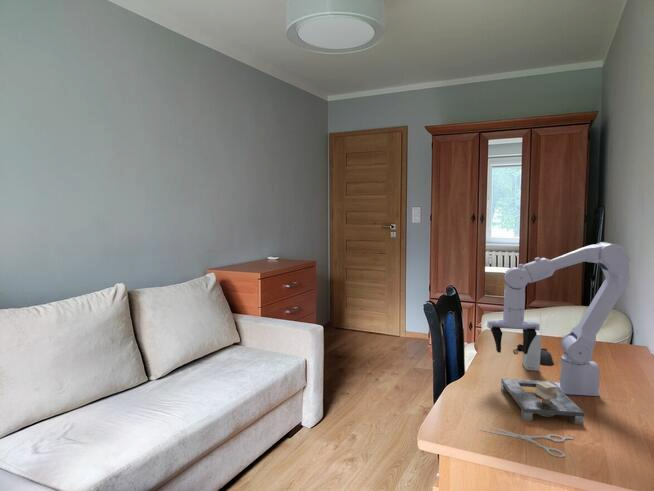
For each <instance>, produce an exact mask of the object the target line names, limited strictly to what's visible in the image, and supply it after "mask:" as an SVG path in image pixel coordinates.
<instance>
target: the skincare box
mask: <svg viewBox="0 0 654 491" xmlns="http://www.w3.org/2000/svg"><path fill="white" fill-rule="evenodd" d="M535 331H536V332H537V334H536V336H535V338H534V339H533V341H532V342H531V344H530V347H529V349H528V353H527V354H524V353H523V352H522V360H521V361H522V363H521V364H522V366H523V367H524V369H525V370H527V371H537V372H539V371H541V370H540V367H541V364H540V354H541V348H542V334H541V333H540V331H537V330H535Z"/></svg>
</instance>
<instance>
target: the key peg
mask: <svg viewBox="0 0 654 491" xmlns="http://www.w3.org/2000/svg"><path fill="white" fill-rule="evenodd" d="M557 390H558V387H557V386H555V385H553V384H551V383H549V382H538V383H536V387H535V395H536V396H539V397H541V403H542V404H550V399H555V398H557ZM536 414H538V413H536ZM538 415H539V416H543V417H544V418H545V417H547V418H553V417H555V415H554V414H538Z"/></svg>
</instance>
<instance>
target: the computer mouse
mask: <svg viewBox="0 0 654 491" xmlns="http://www.w3.org/2000/svg"><path fill="white" fill-rule="evenodd" d="M516 347H517V348H514V349H513V352H514V353H515V354H519V352H523V344H520V343H519V344H516ZM554 363H555V362H554V361H553V357H552V353H551V352H549V351H548V349H547V348H545V347H543V348H542V347H541V354H540V366H541V365H542V366H554Z"/></svg>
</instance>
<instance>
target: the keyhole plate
mask: <svg viewBox="0 0 654 491" xmlns="http://www.w3.org/2000/svg"><path fill="white" fill-rule="evenodd" d="M538 382H549V383H551V384H553V385H555V384H554V382H553V381H552V380H535V379H517V378H515V379H514V378H501V384H500V389H501V391H502V392H508V393H509V394H510V395H511V397H512V398H513V400H514V401H515V403H516V404H517V405H518V406H519V408H520V410H521V412H520V414H521V415H520V417H521V419H522V420H523V421H528V422H533V416H534V415H533V414H537V413H538V415H539V414H554V416H555V415H556V416H568V417H569V416H570V420H571V422H572V423H574V424H575V425H584V420H585V412H584V411H583V410H582V409H581V408H580V407H579V406H578V405H577V404H576V403H575V402H574V401H573V400H572V399H571V398H570V397H569V396H567V394H564V393H563V392H562V391H561V390H560V389H559V388H558V390H557V398H555V399H550V404H542V400H540V399H539V398H538V397H537V395H536V394H535V393H534V392H531V391H529V392H528V391H525V389H524V388H523V387H526V388H527V387H528V388H536V383H538ZM555 386H556V385H555Z"/></svg>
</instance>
